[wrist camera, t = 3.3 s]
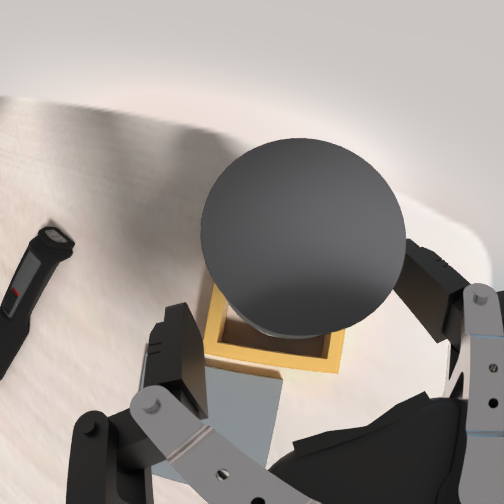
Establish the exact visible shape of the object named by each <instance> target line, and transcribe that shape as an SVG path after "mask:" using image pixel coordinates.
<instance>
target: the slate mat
mask: <svg viewBox="0 0 504 504" xmlns="http://www.w3.org/2000/svg"><path fill="white" fill-rule="evenodd" d="M147 356H148V354H147V352H146V356H145V362H144V368H143V375H142V382H141V389H140V390H142V389H143V384H144V375H145V367H146V359H147ZM205 376H206V391H207V405H208V417H209V418H208V419H203V420H200V421H201V422H202V423H204V424H205V425H206V426H210V427H212V428H213V429H215V430H216V431H217V432H218V433H219V434H221V435H222V436H223V437H224V438H226V439H227V440H228V441H229V442H231V443H232V444H233V445H234V446H236V447H237V448H238V449H239V450H241V451H242V452H243V453H245V454H246V455H247V456H249V457H250V458H251V459H253V460H254V461H255V462H257V463H258V464H259V465H261V466H262V467H263V468H265V467H266V462H267V458H268V453H269V449H270V444H271V439H272V434H273V430H274V425H275V420H276V415H277V410H278V405H279V399H280V394H281V389H282V383H283V379H280V378H273V377H266V376H260V375H254V374H248V373H242V372H237V371H231V370H226V369H221V368H216V367H211V366H206V365H205ZM167 460H168V459H167ZM167 460H165V461H162V462H160V463H158V464H155V465H153V466H151V471H152V474H154V475H157V476H160V477H163V478H167V479H170V480H173V481H177V482H181V483H184V484H188V483H187V482H186V481H185V480H184V479H183V478H182V477H181V476H180V475H179V474H178V473H177V472H176V471H175V469H174V468H173V467H172V466H171V465H170V464H169V463H168V461H167ZM188 485H189V484H188Z"/></svg>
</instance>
